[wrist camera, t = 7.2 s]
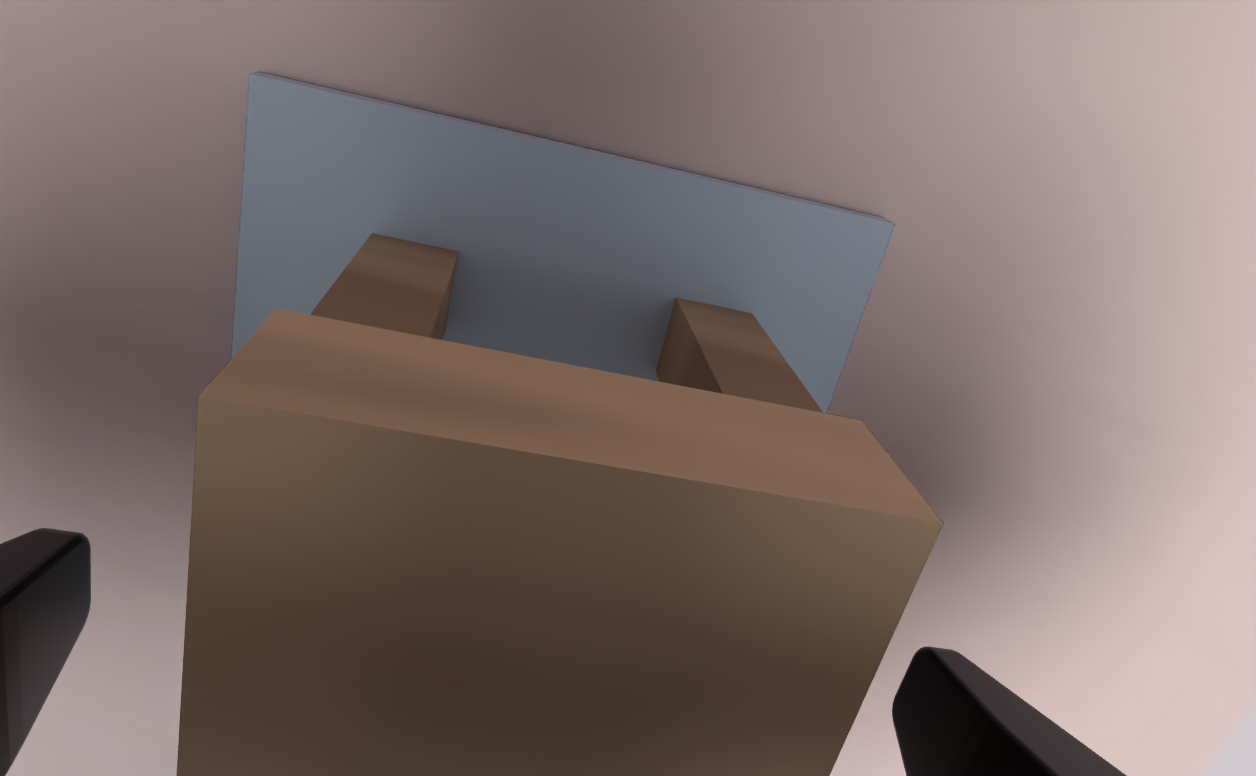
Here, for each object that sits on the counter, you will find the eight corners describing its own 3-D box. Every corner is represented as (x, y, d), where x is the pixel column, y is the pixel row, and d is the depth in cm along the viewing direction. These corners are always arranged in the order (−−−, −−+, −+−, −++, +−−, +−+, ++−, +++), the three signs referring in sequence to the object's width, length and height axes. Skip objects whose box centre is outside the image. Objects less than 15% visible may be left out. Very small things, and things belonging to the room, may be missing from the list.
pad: (720, 678, 16) (724, 694, 16) (221, 617, 14) (213, 633, 14) (884, 218, 13) (895, 223, 12) (259, 71, 11) (249, 73, 11)
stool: (666, 621, 15) (740, 972, 9) (314, 572, 14) (167, 939, 8) (768, 303, 13) (943, 522, 7) (358, 215, 12) (197, 396, 6)
